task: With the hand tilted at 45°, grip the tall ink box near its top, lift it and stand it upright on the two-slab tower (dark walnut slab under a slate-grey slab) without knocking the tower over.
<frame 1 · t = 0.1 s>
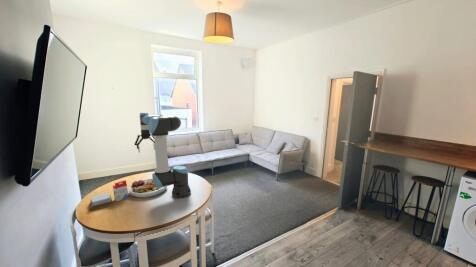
hand: (147, 151, 194), 28 cm above the table, tool pointing down, fingers open, 13 cm apart
ink box: (121, 198, 160), on the table
bowl: (148, 190, 174), on the table
tower top: (101, 200, 152), point 2 cm above the table, touching tower base
tower base: (101, 204, 153), on the table, touching tower top
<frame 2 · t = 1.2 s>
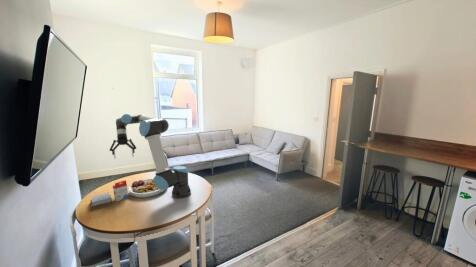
hand: (124, 157, 174), 28 cm above the table, tool tilted 35°, fingers open, 13 cm apart
nothing on the table moved.
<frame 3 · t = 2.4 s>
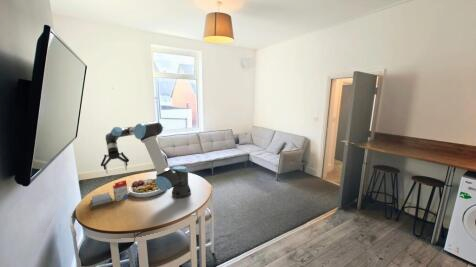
hand: (116, 171, 166), 19 cm above the table, tool tilted 45°, fingers open, 13 cm apart
tower top: (101, 200, 153), point 2 cm above the table
tower base: (101, 204, 153), on the table
everything else where it was.
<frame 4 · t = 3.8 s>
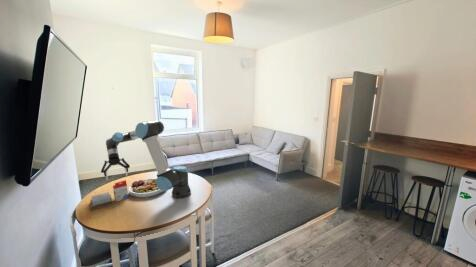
hand: (117, 177, 163), 15 cm above the table, tool tilted 45°, fingers open, 13 cm apart
tower top: (101, 200, 152), point 2 cm above the table, touching tower base
tower base: (101, 204, 153), on the table, touching tower top
everything else where it was.
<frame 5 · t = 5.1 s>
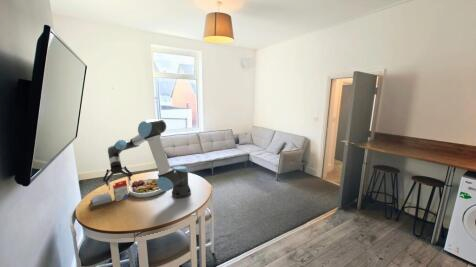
hand: (119, 186, 158), 10 cm above the table, tool tilted 45°, fingers open, 13 cm apart
nothing on the table moved.
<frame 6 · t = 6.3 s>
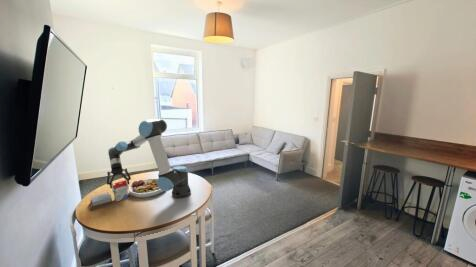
hand: (120, 190, 156), 8 cm above the table, tool tilted 45°, fingers closed on ink box, 9 cm apart
ink box: (121, 198, 160), on the table, touching gripper
everything else where it was.
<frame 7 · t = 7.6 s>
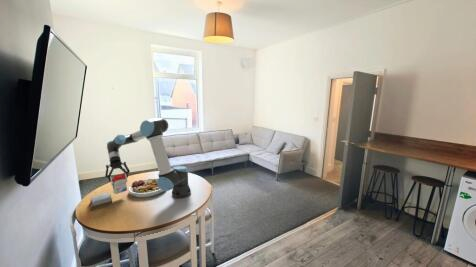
hand: (119, 182, 156), 14 cm above the table, tool tilted 45°, fingers closed on ink box, 9 cm apart
ink box: (120, 191, 160), point 5 cm above the table, touching gripper
everything else where it was.
when the fingers open (15 cm above the table, at t = 12.9 s): ink box drops 2 cm, resting on tower top.
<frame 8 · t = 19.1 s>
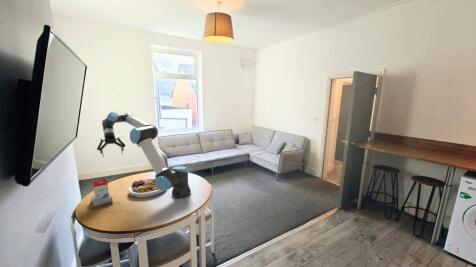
hand: (113, 155, 167), 32 cm above the table, tool tilted 45°, fingers open, 13 cm apart
ink box: (101, 197, 152), point 5 cm above the table, touching tower top
tower top: (102, 200, 153), point 2 cm above the table, touching ink box, tower base
everything else where it was.
at the end: ink box 0.5 cm off-centre on the tower top, point 3.1 cm above the tower top's base; ink box tilted 6°; tower top 0.4 cm from the tower base (horizontally) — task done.
